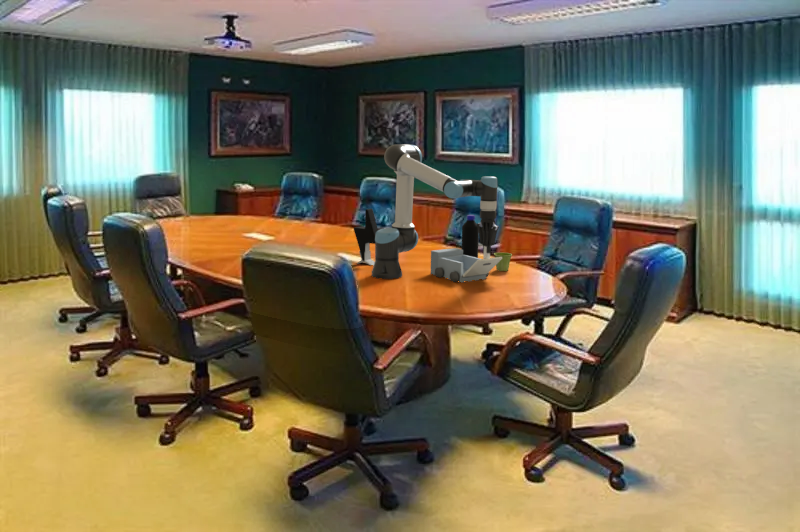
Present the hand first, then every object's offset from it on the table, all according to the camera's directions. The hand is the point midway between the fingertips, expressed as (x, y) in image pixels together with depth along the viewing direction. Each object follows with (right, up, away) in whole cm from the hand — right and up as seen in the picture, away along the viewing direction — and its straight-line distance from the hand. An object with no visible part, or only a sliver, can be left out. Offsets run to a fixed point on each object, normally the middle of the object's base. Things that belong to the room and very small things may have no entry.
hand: (486, 259), depth 334 cm
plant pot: (+13, -6, +36) cm, 39 cm away
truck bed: (-12, -8, +19) cm, 24 cm away
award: (-59, -2, +50) cm, 77 cm away
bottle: (-4, -4, +43) cm, 43 cm away
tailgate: (-5, -7, +8) cm, 12 cm away
